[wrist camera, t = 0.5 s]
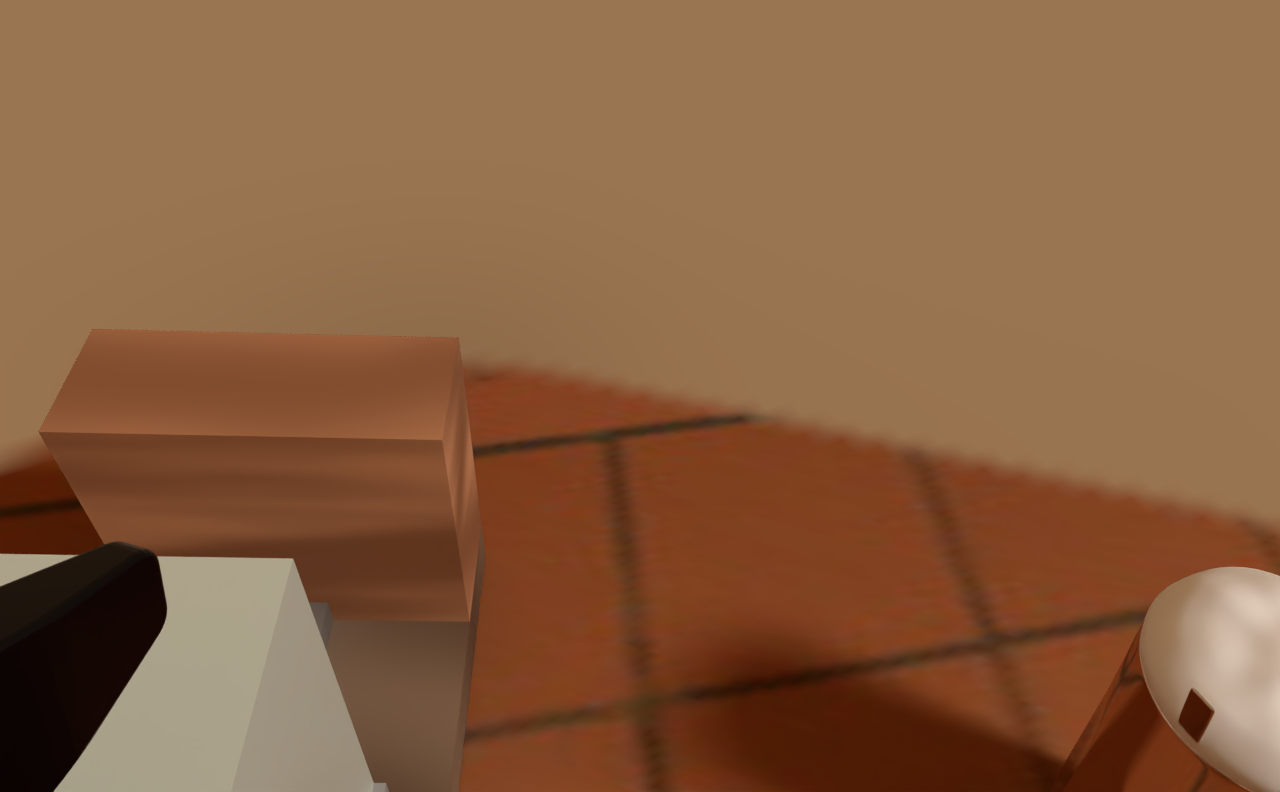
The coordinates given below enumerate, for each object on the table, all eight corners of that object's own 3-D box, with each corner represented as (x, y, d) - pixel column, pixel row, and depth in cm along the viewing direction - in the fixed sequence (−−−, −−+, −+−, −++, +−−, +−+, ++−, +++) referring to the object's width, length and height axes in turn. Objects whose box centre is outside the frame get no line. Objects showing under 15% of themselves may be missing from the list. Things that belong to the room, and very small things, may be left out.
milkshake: (942, 816, 24) (1096, 584, 17) (1108, 723, 26) (1309, 478, 19) (1078, 1010, 22) (1326, 833, 15) (1251, 891, 24) (1550, 681, 16)
